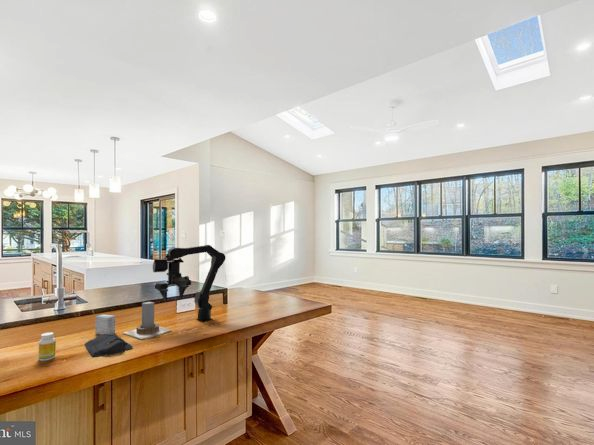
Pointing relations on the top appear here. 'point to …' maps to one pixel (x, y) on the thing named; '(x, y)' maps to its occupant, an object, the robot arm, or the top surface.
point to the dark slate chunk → (106, 345)
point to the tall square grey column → (147, 314)
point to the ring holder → (147, 332)
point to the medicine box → (105, 324)
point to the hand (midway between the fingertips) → (173, 300)
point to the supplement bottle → (47, 347)
